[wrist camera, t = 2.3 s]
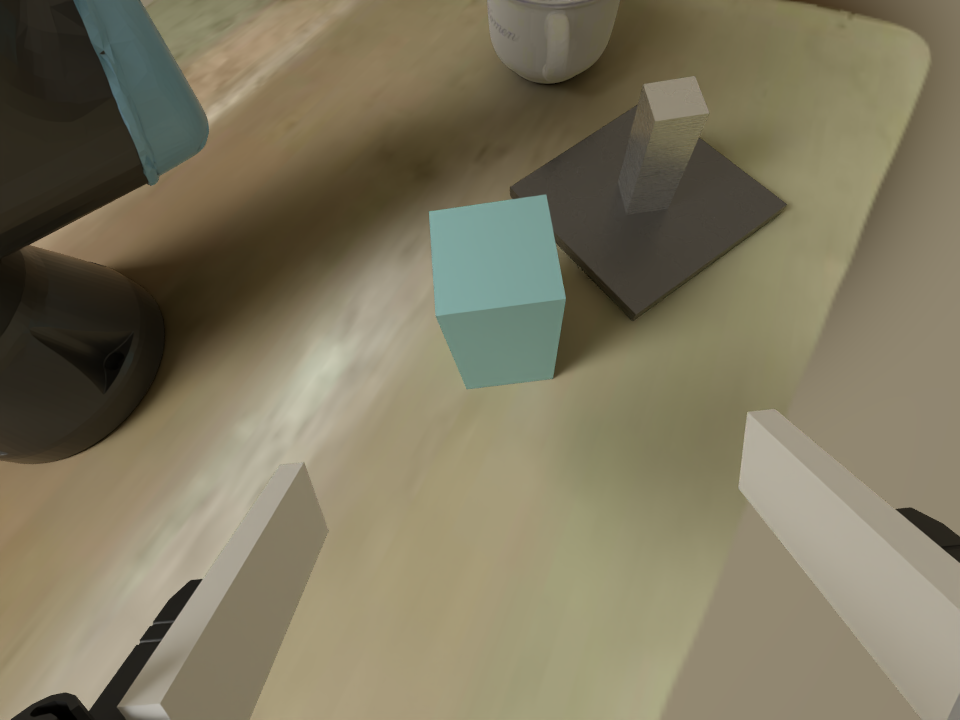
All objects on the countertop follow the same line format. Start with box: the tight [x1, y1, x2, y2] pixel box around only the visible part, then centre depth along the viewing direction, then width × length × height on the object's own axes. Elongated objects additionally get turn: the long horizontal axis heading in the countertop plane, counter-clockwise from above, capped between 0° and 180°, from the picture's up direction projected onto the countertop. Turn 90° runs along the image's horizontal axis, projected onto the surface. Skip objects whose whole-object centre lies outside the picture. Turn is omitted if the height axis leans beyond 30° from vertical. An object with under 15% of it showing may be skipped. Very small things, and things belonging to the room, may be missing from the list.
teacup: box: [487, 0, 620, 84], centre depth 37 cm, size 14×11×8 cm
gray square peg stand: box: [510, 76, 787, 321], centre depth 30 cm, size 14×14×9 cm
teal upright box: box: [429, 195, 566, 389], centre depth 26 cm, size 6×6×11 cm
